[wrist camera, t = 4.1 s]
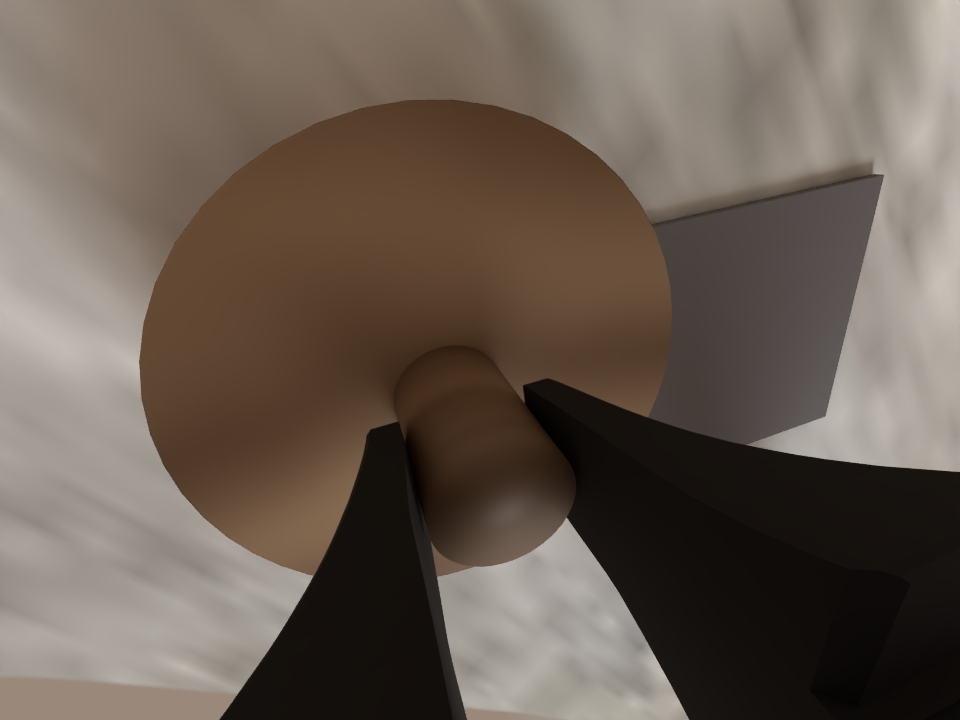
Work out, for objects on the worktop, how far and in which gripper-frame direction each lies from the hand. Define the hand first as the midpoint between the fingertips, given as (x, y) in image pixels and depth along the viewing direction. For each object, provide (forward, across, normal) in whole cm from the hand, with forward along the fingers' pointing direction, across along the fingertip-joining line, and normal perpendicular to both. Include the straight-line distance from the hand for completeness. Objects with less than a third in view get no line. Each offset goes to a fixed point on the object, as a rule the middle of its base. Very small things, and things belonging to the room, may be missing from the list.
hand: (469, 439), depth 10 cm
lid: (+3, 0, 0) cm, 3 cm away
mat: (+7, -14, +4) cm, 16 cm away
